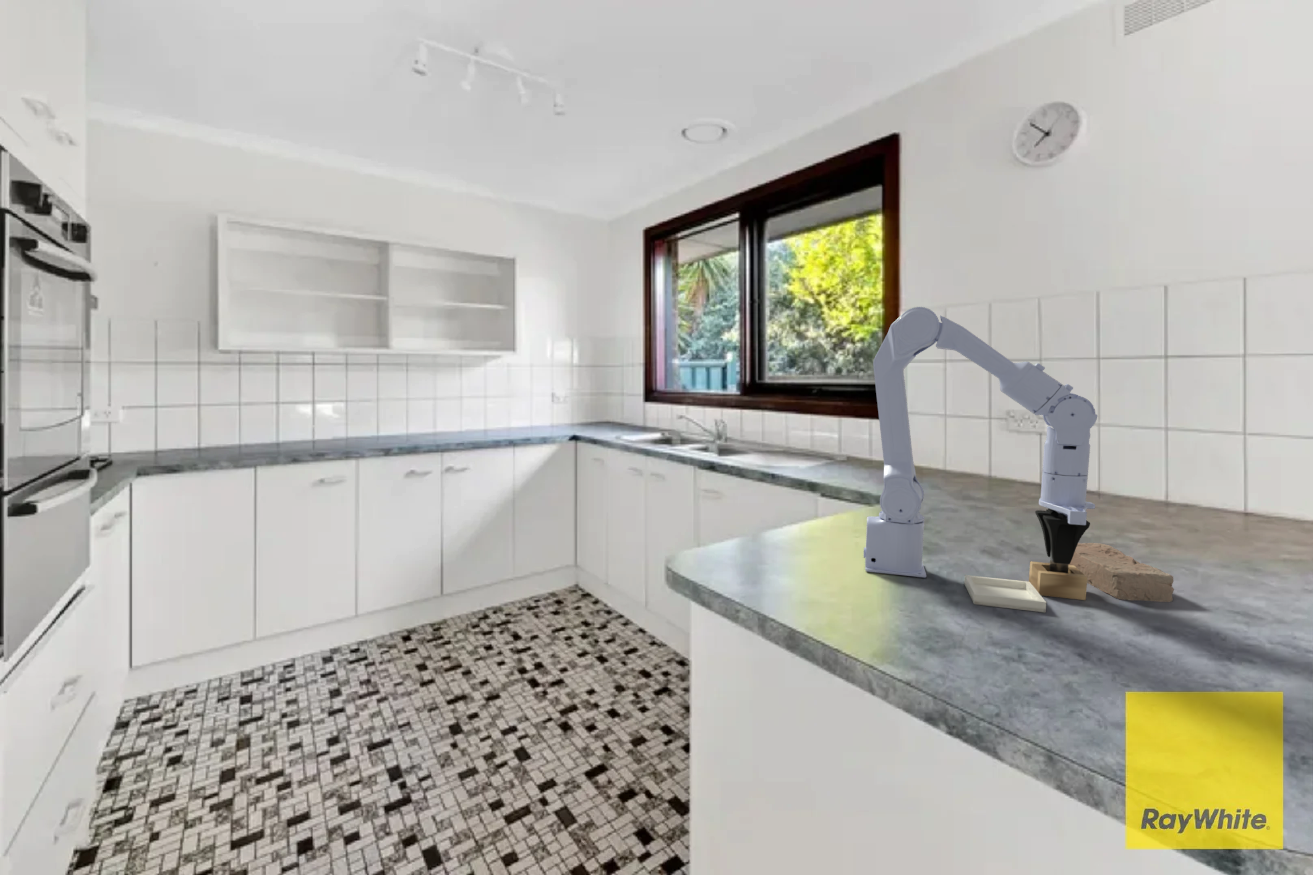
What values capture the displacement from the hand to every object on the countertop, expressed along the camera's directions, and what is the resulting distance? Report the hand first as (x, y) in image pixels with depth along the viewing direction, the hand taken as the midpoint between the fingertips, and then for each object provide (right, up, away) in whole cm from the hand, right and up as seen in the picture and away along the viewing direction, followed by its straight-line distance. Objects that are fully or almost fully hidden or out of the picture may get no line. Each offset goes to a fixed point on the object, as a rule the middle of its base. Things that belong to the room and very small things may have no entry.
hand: (1058, 560), depth 91 cm
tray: (-10, -5, -2) cm, 12 cm away
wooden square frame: (0, -5, +1) cm, 5 cm away
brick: (+12, -5, +5) cm, 14 cm away
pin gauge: (0, -3, 0) cm, 3 cm away
